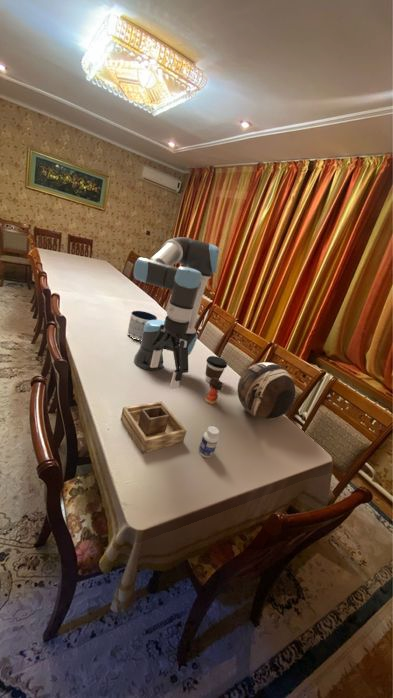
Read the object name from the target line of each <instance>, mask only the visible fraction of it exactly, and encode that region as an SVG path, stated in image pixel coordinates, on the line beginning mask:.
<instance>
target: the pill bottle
mask: <svg viewBox="0 0 393 698" xmlns="http://www.w3.org/2000/svg"><path fill="white" fill-rule="evenodd" d="M219 433H220V430H219V428H217V427H215V426H213V425H212V426H211V425H210V426H207V430H206V431H204V433H203V436H202V438H201V440H200V444H199V447H198V453H199V455H201V456H202V457H204V458H212V457H213V456H214V453H215V451H216V448H217V445H218V442H219V440H220V438H219Z"/></svg>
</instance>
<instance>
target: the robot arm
mask: <svg viewBox="0 0 393 698" xmlns="http://www.w3.org/2000/svg"><path fill="white" fill-rule="evenodd" d="M219 254H220V248H219V247H218V246H216V245H214V244H211V243H208V242H204V241H200V240H196V239H193V238H191V237H186V236H185V237H184V236H183V237H182V236H179V237H173V238H170V239H168V240H166V241H165V242H164V243H163V244H162V245H161V248H160V250H158V251H157V252H156V253H155V254H154V255H153V256H152V257H150V258H146V257H138V258H137V260H135V264H134V267H133V278H134V279H135V280H137V281H139V282H141V283H142V282H143V283H144V284H149V285H152V286H155V287H160V288H163V289H167V290H170V291H171V294H170V298H169V302H168V303H169V304H168V306H167V312H166V316H165V319H164V320H162V319H157V320H150V321H147V322H146V324H145V327H144V329H143V336H142V341H140V345H139V346H140V347H139V348H138V350H137V352H136V354H135V355H134V358H133V363H134V362H135V363H136V364H137V365H138V367H139V366H140V367H139V368H141V369H144V370H149V371H158V370H161V369H162V368H163V365H164V354H163V351H164V350H165V351H169V352H172V353H173V358H174V359H173V360H174V363H175V364H174V365H175V369H174V370H173V373H172V377H171V381H170V385H169V389H170V390H171V389H173V390H174V389H178V388H179V384H180V381H181V379H182V376H183V374H187V373H189V355H191V353H192V352H193V349H194V347H195V345H196V342H197V339H198V337H199V336H198V334H197V330H196V327H195V325H196V321H197V318H198V314H199V311H200V307H201V303H202V301H203V296H204V293H205V290H206V285H207V282H208V280H209V279H211V278H212V277H213V275H214V274H215V275H216V273H217V270H218V269H217V268H218V263H219V262H218V261H219ZM175 264H180V265H183V266H179V267H176V266H174V265H175ZM135 363H134V364H135ZM136 364H135V365H136ZM137 365H136V366H137Z"/></svg>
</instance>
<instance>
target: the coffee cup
mask: <svg viewBox="0 0 393 698" xmlns="http://www.w3.org/2000/svg"><path fill="white" fill-rule="evenodd" d="M227 367H228V364H227V361H226V360H225V359H224V358H222V357H220V356H214V355H211V356H208V357H207V358H206V368H205V377H204V379H205V381H206V382H208V384H210V380H211V379H212V378H213V377H216V378H218V379H219V380H220V379H221V376H222V375H223V373H224V371H225V369H226V368H227Z"/></svg>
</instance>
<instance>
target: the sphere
mask: <svg viewBox="0 0 393 698" xmlns="http://www.w3.org/2000/svg"><path fill="white" fill-rule="evenodd" d="M237 395H238V396H237V397H238V399H239V403H240V404H241V406H242V408H243V409H244V410H245V411H246V412H248V414H250V415H251V416H253V417H255V418H257V419H262V420H273V419H277V418H280V417H282V416H283V415H285V414H286V413H288V411H289V410H290V409H291V407H292V406H293V405H294V402H295V398H296V386H295V382H294V379H293V377H292V376H291V374H290V373H289V372H288V371H287V370H286V369H285V368H283V367H282V366H281V365H279V364H276V363H274V362H267V361H266V362H257V363H254V364H252V365H251V366H249V367H248V368H246V370H245V371H244V372H243V373H242V374H241V376H240V378H239V380H238V384H237Z"/></svg>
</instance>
